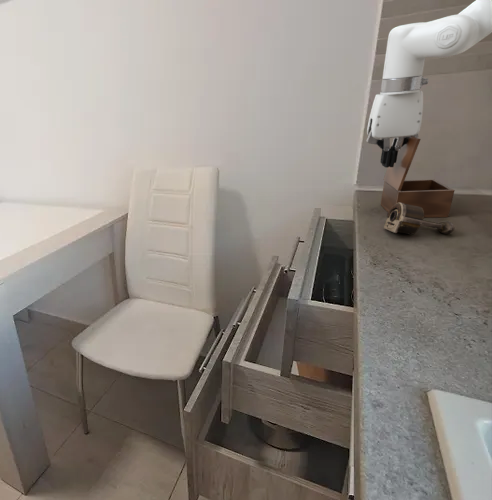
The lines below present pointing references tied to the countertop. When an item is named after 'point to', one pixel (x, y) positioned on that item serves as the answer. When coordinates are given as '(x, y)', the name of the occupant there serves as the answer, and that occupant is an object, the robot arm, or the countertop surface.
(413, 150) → the lid
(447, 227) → the security camera
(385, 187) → the keepsake box
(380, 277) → the countertop surface
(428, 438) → the countertop surface
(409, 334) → the countertop surface
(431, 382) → the countertop surface
